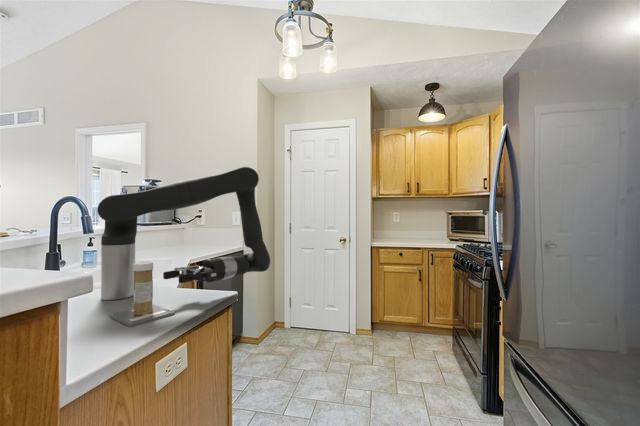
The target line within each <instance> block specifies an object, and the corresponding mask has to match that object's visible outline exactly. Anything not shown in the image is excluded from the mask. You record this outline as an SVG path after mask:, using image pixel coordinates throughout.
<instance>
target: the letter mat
mask: <svg viewBox="0 0 640 426" xmlns="http://www.w3.org/2000/svg"><path fill="white" fill-rule="evenodd" d="M152 308H153V311H152V312H151V313H149V314H145V315H135V314H134V313H133V312H134V308H131V309H128V310H123V311H120V312H115V313H111V314H109V316H108V317H109V318H110V319H112V320H114V321H116V322H118V323H120V324H122V325H124V326H127V327H128V328H132V327H136V326H138V325H141V324H146V323H149V322H153V321H156V320H160V319H163V318H167V317H170V316H173V315H175V311H173V310H170V309H167V308H165V307H162V306H159V305H156V304H154V303H152Z"/></svg>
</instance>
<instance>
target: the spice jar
mask: <svg viewBox="0 0 640 426" xmlns="http://www.w3.org/2000/svg"><path fill="white" fill-rule="evenodd" d="M133 271H134V295H133V309H134V312H133V313H134V314H135V315H145V314H149V313H151V312H152V311H153V308H152V304H153V299H154V295H153V294H154V286H153V282H154V281H153V271H154V262H153V261H138V262H135V263H134V264H133Z"/></svg>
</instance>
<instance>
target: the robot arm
mask: <svg viewBox="0 0 640 426" xmlns="http://www.w3.org/2000/svg"><path fill="white" fill-rule="evenodd" d="M259 178H260V177H259V174H258V172H257V171H256V170H255V169H254V168H252V167H248V166H241V167H237V168H235V169H232V170H229V171H227V172H223V173H220V174H214V175H209V176H201V177H194V178H189V179H185V180H180V181H175V182H172V183H168V184H163V185H161V186H158V187H157V186H156V187H153V188H151V189H148V190H143V191H138V192H137V191H136V192H130V193H122V194H112V195H108V196H106V197H104V198H103V199H102V200H100V201H99V203H98V205H97V208H96V209H97V210H96V211H97V214H98V216H99V217H100V218H101V219H102V220H103V221H104V231H103V233H102V235H101V239H100V242H101V243H100V246H101V247H100V249H101V251H100V252H101V253H100V254H101V256H100V258H101V263H100V269H101V270H100V272H101V273H100V300H103V301H114V300H121V299H127V298H131V297H134V271H133V264H134V263H136V237H137V232H138V217H140V216H143V215H147V214H151V213H155V212H163V211H164V212H165V211H174V210H178V209H179V210H180V209H185V208H189V207H192V206H196V205H200V204H202V203H206V202H207V201H210V200H213V199H216V198H217V197H220V196H223V195H227V194H231V193H232V194H233V193H235V195H236V197H237V201H238V205H239V211H240V220H241V228H242V237H243V242H244V245H245V247H246V248H250V249H251V251H252V252H251V253H244V254H242V255H233V256H220V257H214V258H207V259H204V260H203V262H202V263H201V266H200V265H189V266H182V267H174V269H173V270H168V271H167V270H166V271H164V272H163V275H162V277H163V279H164V280H170V279H175V278H178V283H179V284H184V283H189V282H194V283H195V282H198V283H202V282H206V283H209V284H210V283H215V282H220V281H224V280H229V279H231V278H234V277H238V276H243V275H245V274H247V273H250V272H251V273H252V272H255V273H257V272H258V273H259V272H266V271H268V269H269V268H270V265H271V256H270V253H269V250H268V248H267V246H266V244H265V241H264V237H263V230H262V223H261V220H260V216H259V214H258V209H257V204H256V194H255V193H256V187H257V186H258V184H259V180H260V179H259Z"/></svg>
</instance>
